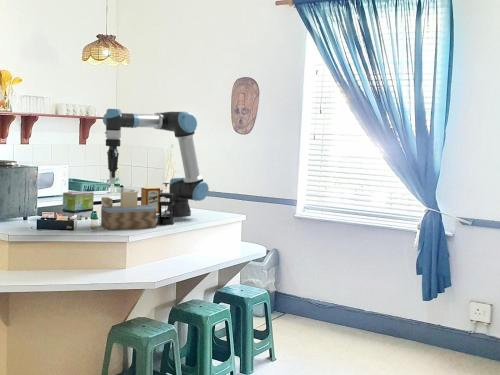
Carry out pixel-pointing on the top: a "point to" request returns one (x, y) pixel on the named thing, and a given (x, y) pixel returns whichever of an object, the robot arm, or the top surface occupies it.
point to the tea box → (78, 204)
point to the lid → (128, 204)
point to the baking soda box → (150, 197)
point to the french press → (172, 209)
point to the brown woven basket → (128, 220)
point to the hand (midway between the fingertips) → (112, 183)
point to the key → (106, 201)
